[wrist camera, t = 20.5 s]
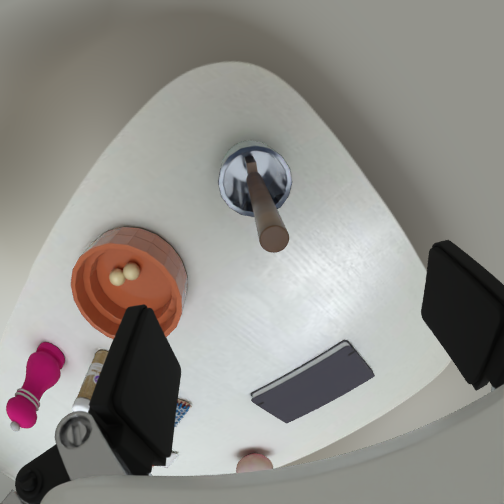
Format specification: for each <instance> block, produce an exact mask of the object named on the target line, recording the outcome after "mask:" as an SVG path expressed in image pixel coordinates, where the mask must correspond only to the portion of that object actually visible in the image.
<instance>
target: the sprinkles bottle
mask: <svg viewBox="0 0 504 504" xmlns="http://www.w3.org/2000/svg"><path fill="white" fill-rule="evenodd" d="M107 354H108V352H107V351H103V350H101V351H98V352H96V354H95V357H94V359H93V362H92V364H91V365H90V367H89V370H88V372H87V374H86V377H85V379H84V381H83V384H82V386H81V389H80V392H79V394H78V397H77V398H76V399H75V401H74V404H73V406H72V410H73V412H76V411H85V412H87V413H88V411H89V408H90V406H89V403H90V400H91V397H92V394H93V391H94V389H95V386H96V383H97V380H98V378H99V375H100V372H101V370H102V367H103V365H104V362H105V359H106V357H107Z"/></svg>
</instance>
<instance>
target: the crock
mask: <svg viewBox="0 0 504 504" xmlns="http://www.w3.org/2000/svg"><path fill="white" fill-rule="evenodd" d="M249 156H253V157H254V159H255V161H256V164H257V170H258V173H259V174H260V175H261V177H262V179H263V181H264V183H265V185H266V187H267V189H268V191H269V193H270V195H271V198H272V200H273V202H274V204H275V206H276V208H277V209H278V208H280V207H281V206H282V205H283V203H284V202H285V200H286V199H287V198H288V196H289V194H290V190H291V185H292V177H291V171H290V168H289V166H288V164H287V163H286V161H285V160H284V158H283V157H282V156H281V155H280V154H279V153H277V152H276V151H275V150H273V149H272V148H271V147H269V146H268V145H266V144H265V143H263V142H259V141H254V140H247V141H242V142H239V143H237V144H236V145H234V146H233V147H231V148H230V149H229V150H228V152H227V153H226V155H225V156H224V158H223V161H222V165H221V169H220V174H219V180H218V185H219V189H220V193H221V197H222V198H223V200H224V201H225V202H226V204H227V205H228V206H229V207H230V208H231V209H233V210H234V211H236V212H238V213H239V214H241V215H245V216H251V217H254V213H253V208H252V204H251V199H250V194H249V190H248V185H247V181H246V178H247V176H248V174H247V168H246V163H245V157H249Z"/></svg>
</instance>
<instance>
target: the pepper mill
mask: <svg viewBox="0 0 504 504" xmlns="http://www.w3.org/2000/svg"><path fill="white" fill-rule="evenodd" d="M64 363H65V358H64V355H63V353H62V352H61V351H60V350H59V349H58V348H57V347H56V346H54V345H52V344H51V343H47V342H43V343H41V344H40V345H39V347H38V348H37V351H36V352H35V353H33V354H31V355H30V357H29V359H28V362H27V366H26V378H25V382H24V384H23V386H22V388H19V389H17V392H16V393H15V397H13V398H11V399H9V401H8V403H7V406H6V411H7V414H8V416H9V418H10V419H11V421H12V422H11V428H12V430H13V431H19V429H20V427H22V428H31V427H33V426H34V424H35V423H36V420H37V414H36V411H38V408H39V407H40V402H39V401H40V398H41V396H42V395H43V393H44V392H45V391H46V390H47V389H49V388H51V387H52V386H54V385H55V384H56V383H57V381H58V380H59V378H60V369H61V368H62V367H63V365H64Z"/></svg>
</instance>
